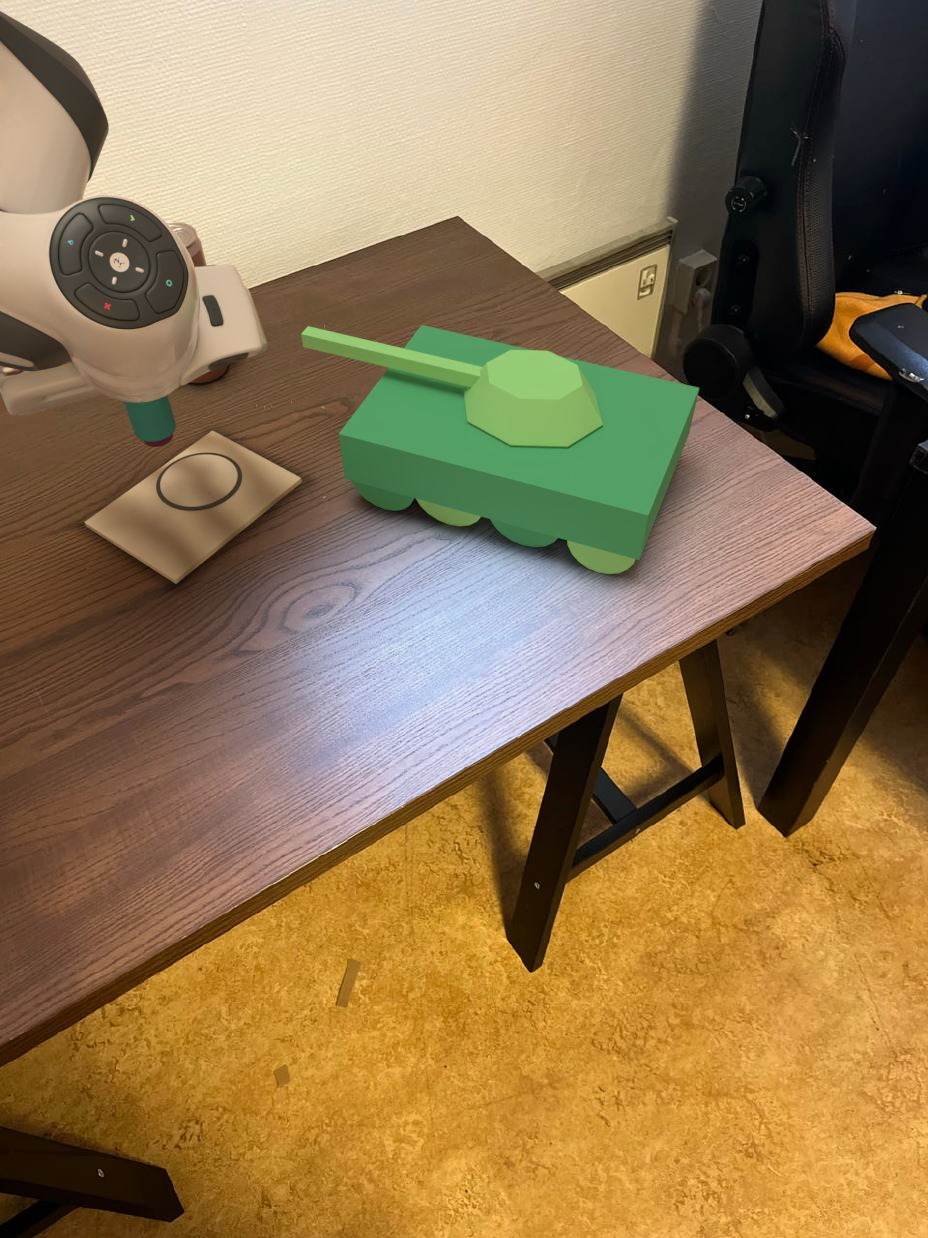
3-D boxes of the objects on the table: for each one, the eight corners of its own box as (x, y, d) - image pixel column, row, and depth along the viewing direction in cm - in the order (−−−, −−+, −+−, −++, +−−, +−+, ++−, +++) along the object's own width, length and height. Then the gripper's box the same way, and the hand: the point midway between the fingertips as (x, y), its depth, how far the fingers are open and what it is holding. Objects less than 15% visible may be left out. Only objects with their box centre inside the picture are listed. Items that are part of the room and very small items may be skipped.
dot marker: (156, 456, 81) (119, 344, 73) (128, 441, 83) (89, 330, 75) (187, 434, 83) (154, 323, 75) (160, 420, 85) (125, 310, 76)
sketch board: (176, 584, 81) (173, 578, 81) (85, 526, 86) (83, 520, 85) (302, 482, 89) (301, 476, 89) (213, 434, 94) (212, 428, 93)
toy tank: (345, 273, 90) (707, 351, 81) (357, 380, 99) (683, 461, 91) (251, 376, 80) (655, 479, 71) (274, 485, 89) (633, 588, 80)
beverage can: (168, 361, 102) (128, 228, 90) (221, 347, 103) (189, 214, 92) (181, 391, 98) (142, 258, 87) (237, 376, 100) (205, 243, 88)
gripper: (-7, 419, 63) (24, 446, 77) (283, 343, 69) (266, 381, 82) (-42, 326, 63) (-5, 371, 76) (255, 257, 68) (241, 310, 81)
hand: (138, 376), depth 79 cm, fingers closed on dot marker, 3 cm apart
